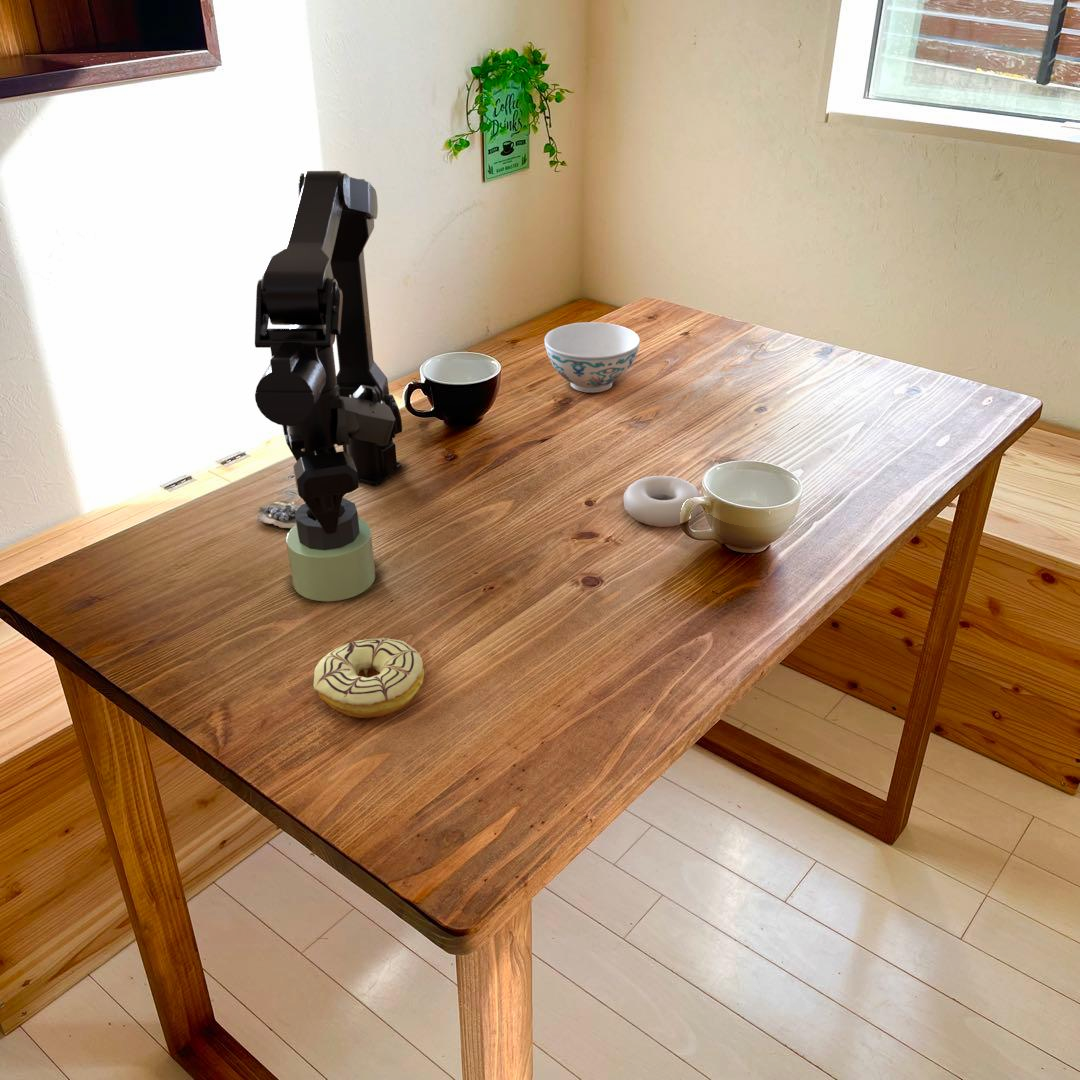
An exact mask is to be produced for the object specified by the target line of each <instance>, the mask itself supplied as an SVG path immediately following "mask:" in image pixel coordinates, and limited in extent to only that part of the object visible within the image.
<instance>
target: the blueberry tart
mask: <svg viewBox="0 0 1080 1080" xmlns="http://www.w3.org/2000/svg"><path fill="white" fill-rule="evenodd" d="M301 505H302V504H298V505H297V504H295V501H292V502H290V501H286V500H277V501H274V502H271V503H270V504H268V505H263V506H260V507H259V509H260V510H258V513H257V514H259V515H258V516H256V521H261V522H263V523H265V524H273V525H274V526H275V527H276V526H278V527H279V528H281V529H284V528H285V529H290V530H291V529H292V528H293V527H294V526H296V525H297V524H296V517H295V512H296V511H297V510H298V508H299V507H300V506H301Z"/></svg>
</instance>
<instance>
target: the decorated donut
mask: <svg viewBox="0 0 1080 1080" xmlns="http://www.w3.org/2000/svg"><path fill="white" fill-rule="evenodd" d="M423 664H424V663H423V659H422V656H421V654H420V653H419V652H418V651H417V650H416V649H415V648H414V647H413V646H411V645H409V644H408V643H407V642H405V641H403V640H400V639H392V638H388V637H376V638H364V639H358V640H354V641H351V642H348V643H345V644H343V645H341V646H339V647H337V648H335V649H333V650H331V651H330V652H328V653H327V654H326V655H324V656H323V657H322V658H321V659H320V661H318V663H317V664H316V666H315V668H314V673H313V674H314V675H313V689H314V691H315V692H317V695H318V696H319V698H320V700H321V701H323V702H324V703H325V704H326V705H328V706H329V707H330V708H332V709H333V710H335V711H337V712H338V713H341V714H344V715H346V716H348V717H353V718H357V719H358V718H359V719H360V718H361V719H370V718H377V717H378V718H379V717H383V716H386V715H390V714H392V713H395V712H398V711H400V710H402V709H403V708H404V707H405V706H407V705H408V704H409V703H410V702H411V701H412V700H413V698H414V697H415V695H416V694H417V693H418V692H419V691H420V687H421V686H422V685H423V683H424V676H425V670H424V669H425V668H424V665H423Z"/></svg>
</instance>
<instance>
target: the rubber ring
mask: <svg viewBox="0 0 1080 1080" xmlns="http://www.w3.org/2000/svg"><path fill="white" fill-rule="evenodd" d="M300 505H301V506H299V508H298V510H297V511H296V512H295V517H296V524H297V531H298V537H299V541H300V543H301V544H303V545H305V546H306V547H308V548H310V549H317V550H329V549H336V548H341V547H343V546H346V545H348V544H350V543H352V542H354V540H355V539H356V538H357V536H358V535H359V533H360V531H359V522H358V518H359V514H358V508H357V506H356V503H355V502H353V501H350V500H348V499H347V498H345V497H343V498H342V502H341V508H340V514H339V520H338V526H337V532H336V533H333V534H326V533H325V531H324V530H323V528H322V527H321V525H320V523H319V522H318V521H316V518H315V516H314V514H313V513H312V512H311V510H310V509H309V507H308V506H307V504H306V503H305V502H304V503H302V504H300Z"/></svg>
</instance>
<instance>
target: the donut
mask: <svg viewBox="0 0 1080 1080" xmlns="http://www.w3.org/2000/svg"><path fill="white" fill-rule="evenodd" d="M694 497H701V494H700V491H699V490H698V489H697V487H695V486H694V485H693V484H692V483H690V482H689V481H688V480H685V479H683V478H679V477H676V476H670V475H650V476H645V477H642V478H639V479H636V480H635V481H634V482H632V483H631V484H630V485H628V487H627V488H626V490H625V491H624V493H623V499H622V500H623V507H624V509H625V510H626V512H627V514H628V515H629V516H630V517H631V518H633V519H634V520H636V521H637V522H639V523H641V524H645V525H647V526H653V527H658V528H659V527H662V528H663V527H665V528H667V527H669V528H670V527H676V526H681V525H680V512H681V508H682V505H683V503H684V502H685V501H686V500H687V499H690V498H694ZM701 508H702V505H701V506H697V507H696V508H695V509H694V510H693V511H692V513H691V519H690V521H691V520H692V519H694V518H695V517H697V515H698V514H699V512H700V510H701Z"/></svg>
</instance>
